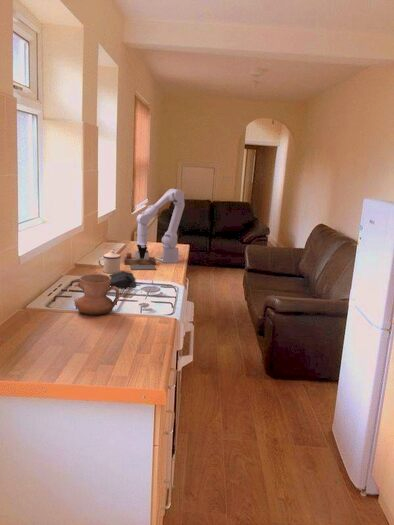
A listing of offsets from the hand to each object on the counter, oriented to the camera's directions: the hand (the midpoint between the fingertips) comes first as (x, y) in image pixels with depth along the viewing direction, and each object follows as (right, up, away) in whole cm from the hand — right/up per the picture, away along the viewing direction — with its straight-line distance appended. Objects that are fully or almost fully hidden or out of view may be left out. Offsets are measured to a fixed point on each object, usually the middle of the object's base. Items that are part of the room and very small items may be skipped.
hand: (141, 257), depth 265 cm
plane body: (-1, -4, +1) cm, 4 cm away
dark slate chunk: (-5, -13, -41) cm, 43 cm away
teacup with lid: (-15, -8, -22) cm, 28 cm away
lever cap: (0, -1, 0) cm, 1 cm away
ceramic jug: (-7, -23, -86) cm, 89 cm away
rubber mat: (+2, -6, -10) cm, 12 cm away
